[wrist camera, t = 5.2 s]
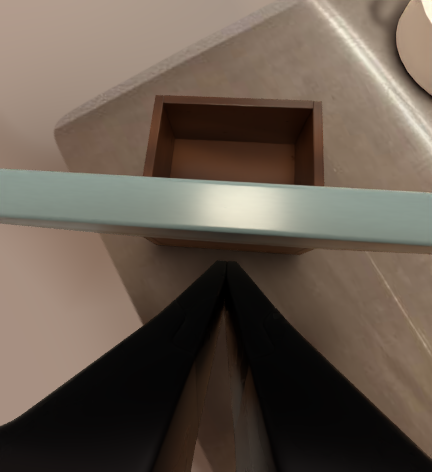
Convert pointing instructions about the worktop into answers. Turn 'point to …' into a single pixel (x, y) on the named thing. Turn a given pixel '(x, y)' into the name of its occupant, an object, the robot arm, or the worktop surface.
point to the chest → (236, 148)
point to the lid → (220, 210)
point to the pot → (416, 41)
